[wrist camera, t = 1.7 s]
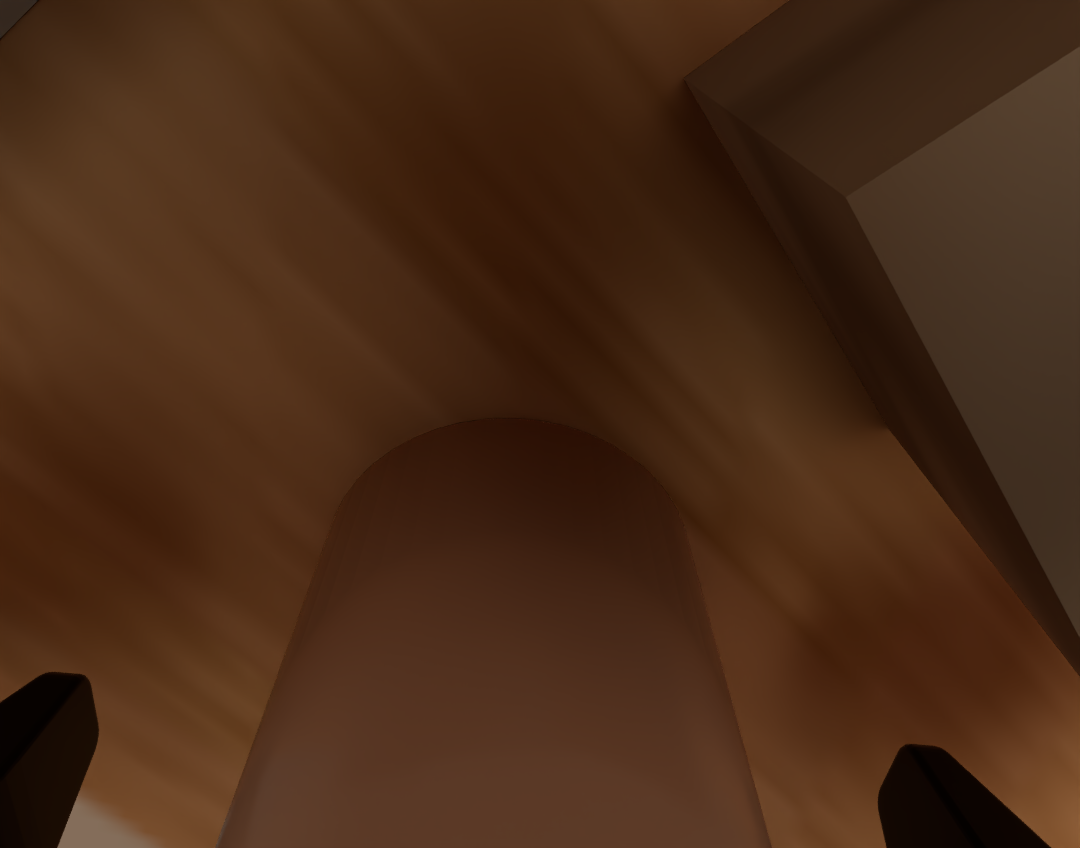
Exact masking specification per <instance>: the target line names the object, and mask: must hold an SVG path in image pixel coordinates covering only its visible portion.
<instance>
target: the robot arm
mask: <svg viewBox="0 0 1080 848" xmlns="http://www.w3.org/2000/svg"><path fill="white" fill-rule="evenodd" d="M98 735H99V726H98V720H97V715H96V709H95V704H94V699H93V693H92V688H91V684H90V681H89V679H88V678H87V677H86V676H85V675H82V674H73V673H61V672H48V673H45V674H42V675H40V676H38V677H37V678H35V679H34V680H32V681H31V682H29V683H28V684H26V685H25V686H23V687H22V688H21V689H19V690H18V691H16V692H15V693H13V694H12V695H10V696H9V697H7V698H6V699H5V700H3V701H2V702H0V848H57V847H58V844H59V842H60V839H61V837H62V834H63V832H64V829H65V827H66V824H67V821H68V818H69V816H70V814H71V811H72V808H73V805H74V803H75V801H76V798H77V796H78V793H79V790H80V788H81V785H82V783H83V780H84V778H85V775H86V772H87V770H88V767H89V765H90V762H91V760H92V757H93V754H94V752H95V749H96V745H97V741H98ZM878 810H879V816H880V820H881V825H882V829H883V834H884V838H885V843H886V847H887V848H1051V847H1050V846H1049V845H1048V844H1047V843H1046V842H1044V841H1043V840H1042V839H1041V838H1040V837H1039V836H1038V835H1037V834H1036V833H1035V832H1034V831H1033V830H1031V829H1030V828H1029V827H1028V826H1027V825H1026V824H1025V823H1024V822H1023V821H1022V820H1021V819H1019V818H1018V817H1017V816H1016V815H1015V814H1014V813H1013V812H1012V811H1011V810H1010V809H1009V808H1008V807H1006V806H1005V805H1004V804H1003V803H1002V802H1001V801H1000V800H999V799H998V798H997V797H996V796H995V795H993V794H992V793H991V792H990V791H989V790H988V789H987V788H986V787H985V786H984V785H983V784H981V783H980V782H979V781H978V780H977V779H976V778H975V777H974V776H973V775H972V774H971V773H970V772H968V771H967V770H966V769H965V768H964V767H963V766H962V765H961V764H960V763H959V762H958V761H957V760H955V759H954V758H953V757H952V756H951V755H950V754H949V753H948V752H946V751H945V750H943V749H942V748H940V747H937V746H929V745H917V744H906V745H904V746H903V747H902V748H900V750H899V751H898V753H897V755H896V757H895V759H894V761H893V763H892V765H891V767H890V769H889V771H888V773H887V775H886V777H885V779H884V781H883V783H882V785H881V787H880V790H879V795H878Z"/></svg>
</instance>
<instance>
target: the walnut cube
mask: <svg viewBox="0 0 1080 848" xmlns="http://www.w3.org/2000/svg"><path fill="white" fill-rule="evenodd" d="M684 80H685V82H686V83H687V85H688V87H689V89H690V90H691V92H692V94H693V95H694V97H695V99H696V100H697V102H698V104H699V106H700V107H701V109H702V111H703V112H704V114H705V116H706V118H707V119H708V121H709V123H710V124H711V126H712V128H713V129H714V131H715V133H716V135H717V136H718V138H719V140H720V141H721V143H722V145H723V147H724V148H725V150H726V152H727V153H728V155H729V157H730V158H731V160H732V162H733V164H734V165H735V167H736V169H737V170H738V172H739V174H740V176H741V177H742V179H743V181H744V182H745V184H746V186H747V188H748V189H749V191H750V193H751V194H752V196H753V198H754V199H755V201H756V203H757V205H758V206H759V208H760V210H761V211H762V213H763V215H764V217H765V218H766V220H767V222H768V223H769V225H770V227H771V228H772V230H773V232H774V234H775V235H776V237H777V239H778V240H779V242H780V244H781V246H782V247H783V249H784V251H785V252H786V254H787V256H788V257H789V259H790V261H791V263H792V264H793V266H794V268H795V269H796V271H797V273H798V275H799V276H800V278H801V280H802V281H803V283H804V285H805V287H806V288H807V290H808V292H809V293H810V295H811V297H812V298H813V300H814V302H815V304H816V305H817V307H818V309H819V310H820V312H821V314H822V316H823V317H824V319H825V321H826V322H827V324H828V326H829V327H830V329H831V331H832V333H833V334H834V336H835V338H836V339H837V341H838V343H839V345H840V346H841V348H842V350H843V351H844V353H845V355H846V356H847V358H848V360H849V362H850V363H851V365H852V367H853V368H854V370H855V372H856V374H857V375H858V377H859V379H860V380H861V382H862V384H863V386H864V387H865V389H866V391H867V392H868V394H869V396H870V397H871V399H872V401H873V403H874V404H875V406H876V408H877V409H878V411H879V413H880V415H881V416H882V418H883V420H884V421H885V423H886V425H887V426H888V428H889V430H890V431H891V432H892V434H893V435H894V436H895V437H896V439H897V440H898V441H899V443H900V444H901V445H902V447H903V448H904V449H905V450H906V452H907V453H908V454H909V456H910V457H911V458H912V459H913V461H914V462H915V463H916V465H917V466H918V467H919V469H920V470H921V471H922V472H923V474H924V475H925V476H926V478H927V479H928V480H929V482H930V483H931V484H932V485H933V487H934V488H935V489H936V491H937V492H938V493H939V494H940V496H941V497H942V498H943V500H944V501H945V502H946V504H947V505H948V506H949V507H950V509H951V510H952V511H953V513H954V514H955V515H956V517H957V518H958V519H959V520H960V522H961V523H962V524H963V526H964V527H965V528H966V529H967V531H968V532H969V533H970V535H971V536H972V537H973V539H974V540H975V541H976V542H977V544H978V545H979V546H980V548H981V549H982V550H983V552H984V553H985V554H986V555H987V557H988V558H989V559H990V561H991V562H992V563H993V564H994V566H995V567H996V568H997V570H998V571H999V572H1000V574H1001V575H1002V576H1003V577H1004V579H1005V580H1006V581H1007V583H1008V584H1009V585H1010V587H1011V588H1012V589H1013V590H1014V592H1015V593H1016V594H1017V596H1018V597H1019V598H1020V600H1021V601H1022V602H1023V603H1024V605H1025V606H1026V607H1027V609H1028V610H1029V611H1030V612H1031V614H1032V615H1033V616H1034V618H1035V619H1036V620H1037V622H1038V623H1039V624H1040V625H1041V627H1042V628H1043V629H1044V631H1045V632H1046V633H1047V635H1048V636H1049V637H1050V638H1051V640H1052V641H1053V642H1054V644H1055V645H1056V646H1057V647H1058V649H1059V650H1060V651H1061V653H1062V654H1063V655H1064V657H1065V658H1066V659H1067V660H1068V662H1069V663H1070V664H1071V666H1072V667H1073V668H1074V670H1075V671H1076V672H1077V673H1078V675H1079V676H1080V0H789V1H788V2H787V3H785V4H784V5H783V6H781V7H780V8H779V9H777V10H776V11H774V12H773V13H772V14H770V15H769V16H768V17H766V18H765V19H764V20H762V21H761V22H759V23H758V24H757V25H755V26H754V27H753V28H751V29H750V30H748V31H747V32H746V33H744V34H743V35H742V36H740V37H739V38H738V39H736V40H735V41H733V42H732V43H731V44H729V45H728V46H727V47H725V48H724V49H723V50H721V51H720V52H718V53H717V54H716V55H714V56H713V57H712V58H710V59H709V60H707V61H706V62H705V63H703V64H702V65H701V66H699V67H698V68H697V69H695V70H694V71H692V72H691V73H690V74H688V75H687V76H686V77H684Z"/></svg>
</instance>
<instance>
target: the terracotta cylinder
mask: <svg viewBox="0 0 1080 848" xmlns="http://www.w3.org/2000/svg"><path fill="white" fill-rule="evenodd" d="M215 848H772V846H771V843H770V839H769V836H768V832H767V828H766V825H765V821H764V817H763V814H762V810H761V806H760V803H759V799H758V795H757V792H756V788H755V784H754V781H753V777H752V773H751V770H750V766H749V762H748V759H747V755H746V751H745V748H744V744H743V740H742V737H741V733H740V729H739V726H738V722H737V718H736V715H735V711H734V707H733V704H732V700H731V696H730V693H729V689H728V685H727V682H726V678H725V674H724V671H723V667H722V663H721V660H720V656H719V653H718V649H717V645H716V642H715V638H714V634H713V631H712V627H711V623H710V620H709V616H708V612H707V609H706V605H705V601H704V598H703V594H702V590H701V587H700V583H699V579H698V576H697V572H696V568H695V565H694V561H693V557H692V554H691V550H690V546H689V543H688V539H687V535H686V532H685V528H684V525H683V523H682V520H681V518H680V516H679V513H678V511H677V509H676V507H675V505H674V504H673V502H672V501H671V499H670V497H669V496H668V494H667V493H666V491H665V490H664V488H663V487H662V486H661V485H660V484H659V483H658V482H657V480H656V479H655V478H654V477H653V476H652V475H651V474H650V473H649V472H648V471H647V470H646V469H645V468H644V467H642V466H641V465H640V464H639V463H638V462H637V461H635V460H634V459H633V458H632V457H630V456H629V455H627V454H626V453H624V452H622V451H621V450H619V449H618V448H616V447H615V446H613V445H611V444H609V443H607V442H605V441H603V440H601V439H599V438H597V437H595V436H593V435H591V434H588V433H585V432H582V431H579V430H576V429H573V428H570V427H567V426H563V425H558V424H554V423H549V422H544V421H538V420H527V419H516V418H503V419H483V420H476V421H469V422H462V423H457V424H454V425H450V426H446V427H442V428H439V429H435V430H433V431H430V432H428V433H425V434H423V435H420V436H418V437H415V438H413V439H411V440H409V441H407V442H405V443H404V444H402V445H400V446H398V447H396V448H395V449H393V450H391V451H390V452H388V453H387V454H386V455H384V456H383V457H382V458H380V459H379V460H378V461H376V462H375V463H374V464H373V465H372V466H371V467H370V468H369V469H368V470H366V471H365V472H364V473H363V474H362V475H361V476H360V477H359V478H358V479H357V481H356V482H355V483H354V485H353V486H352V487H351V489H350V490H349V491H348V493H347V494H346V496H345V497H344V499H343V501H342V503H341V504H340V506H339V508H338V510H337V512H336V514H335V516H334V519H333V522H332V525H331V527H330V530H329V533H328V536H327V539H326V541H325V544H324V547H323V550H322V552H321V555H320V558H319V561H318V564H317V566H316V569H315V572H314V575H313V577H312V580H311V583H310V586H309V589H308V591H307V594H306V597H305V600H304V602H303V605H302V608H301V611H300V614H299V616H298V619H297V622H296V625H295V627H294V630H293V633H292V636H291V639H290V641H289V644H288V647H287V650H286V653H285V655H284V658H283V661H282V664H281V666H280V669H279V672H278V675H277V678H276V680H275V683H274V686H273V689H272V691H271V694H270V697H269V700H268V703H267V705H266V708H265V711H264V714H263V716H262V719H261V722H260V725H259V728H258V730H257V733H256V736H255V739H254V741H253V744H252V747H251V750H250V753H249V755H248V758H247V761H246V764H245V766H244V769H243V772H242V775H241V778H240V780H239V783H238V786H237V789H236V791H235V794H234V797H233V800H232V803H231V805H230V808H229V811H228V814H227V816H226V819H225V822H224V825H223V828H222V830H221V833H220V836H219V839H218V842H217V844H216V847H215Z"/></svg>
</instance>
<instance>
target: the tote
mask: <svg viewBox="0 0 1080 848" xmlns="http://www.w3.org/2000/svg"><path fill="white" fill-rule="evenodd" d="M37 1H38V0H0V38H1V37H2V36H3V35H4V34H5V33H6V32H7V31H8V30H9V29H10V28H11V27H12V26H13V25H14V24H15V23H16V22H17V21H18V20H19V19H20V18H21V17H22V16H23V15H24V14H25V13H26V12H27V11H28V10H29V9H30V8H31V7H32V6H33V5H34V4H35V3H36V2H37Z"/></svg>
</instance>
